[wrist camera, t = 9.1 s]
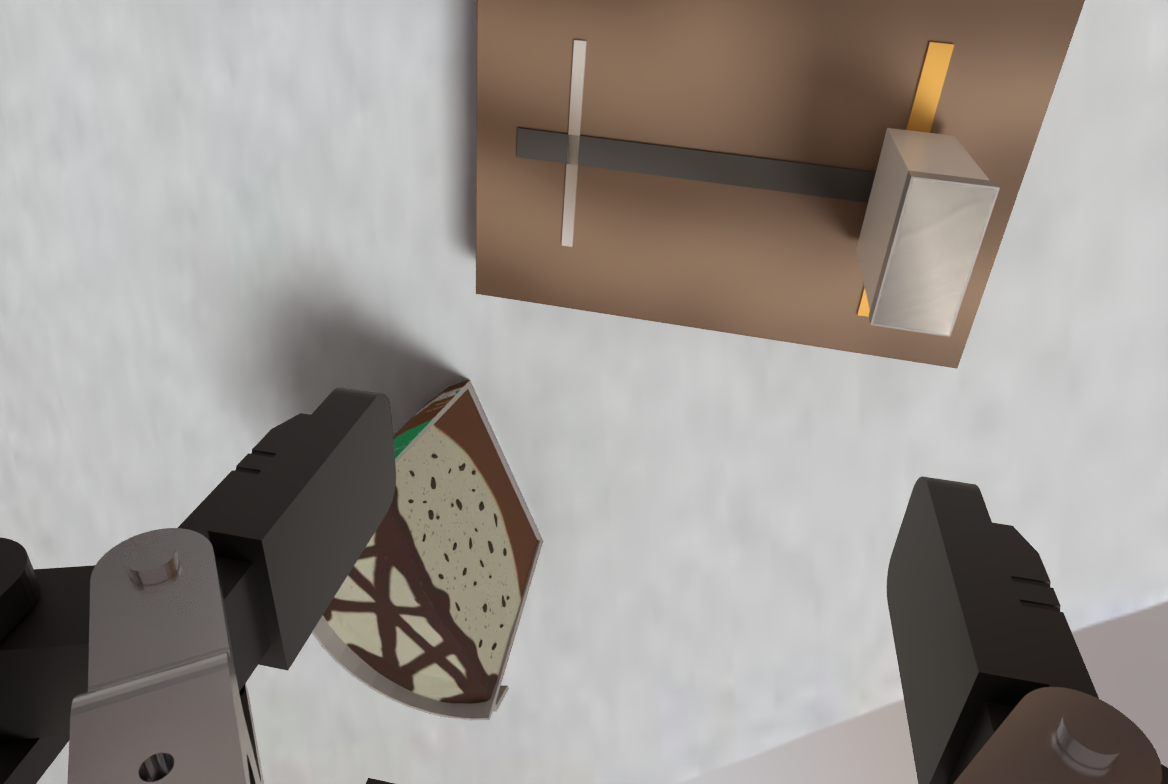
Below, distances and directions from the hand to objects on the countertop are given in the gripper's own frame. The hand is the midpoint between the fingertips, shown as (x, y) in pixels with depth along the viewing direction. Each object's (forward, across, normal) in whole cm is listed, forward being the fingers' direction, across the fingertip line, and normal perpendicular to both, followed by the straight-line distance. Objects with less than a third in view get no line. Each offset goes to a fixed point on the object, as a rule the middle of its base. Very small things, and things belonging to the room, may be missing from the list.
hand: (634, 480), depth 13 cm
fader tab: (+17, -6, 0) cm, 19 cm away
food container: (+21, +10, +17) cm, 29 cm away
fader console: (+20, -1, 0) cm, 21 cm away
